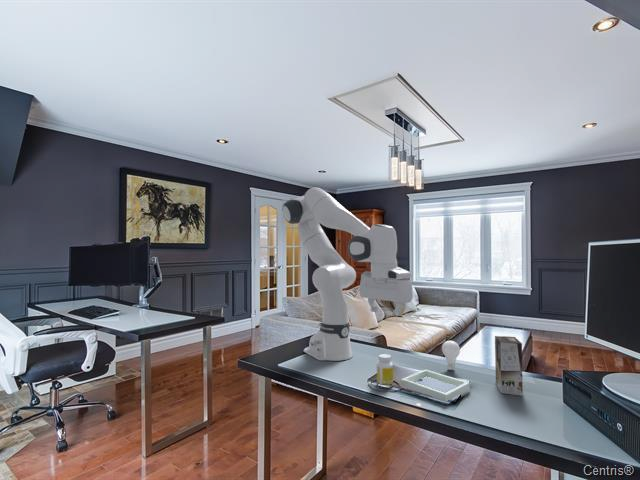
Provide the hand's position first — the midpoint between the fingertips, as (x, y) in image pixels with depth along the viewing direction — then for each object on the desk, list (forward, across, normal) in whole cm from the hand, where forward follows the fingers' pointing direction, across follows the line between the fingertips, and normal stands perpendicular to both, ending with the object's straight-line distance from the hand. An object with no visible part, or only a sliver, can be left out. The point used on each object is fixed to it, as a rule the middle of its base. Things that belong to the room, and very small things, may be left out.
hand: (384, 313), depth 115 cm
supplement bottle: (+24, 0, 0) cm, 24 cm away
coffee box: (+24, +28, +28) cm, 46 cm away
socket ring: (+24, 0, 0) cm, 24 cm away
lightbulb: (+24, +7, +30) cm, 39 cm away
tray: (+24, +13, +9) cm, 29 cm away
